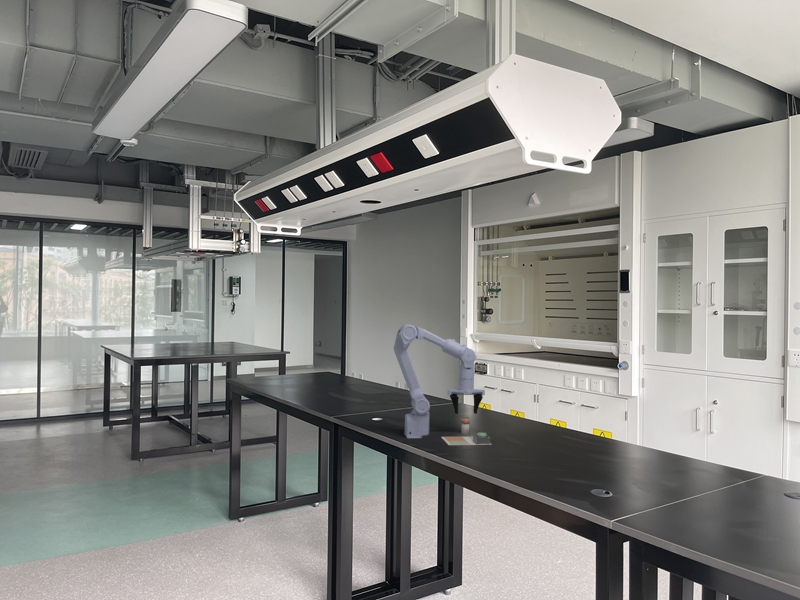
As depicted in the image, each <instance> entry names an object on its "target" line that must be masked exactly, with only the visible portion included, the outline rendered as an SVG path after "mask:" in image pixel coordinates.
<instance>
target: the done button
mask: <svg viewBox="0 0 800 600" xmlns="http://www.w3.org/2000/svg"><path fill="white" fill-rule="evenodd" d="M476 435H477V437H486V435H487V432H481V431H479V432H477V433H476Z"/></svg>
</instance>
